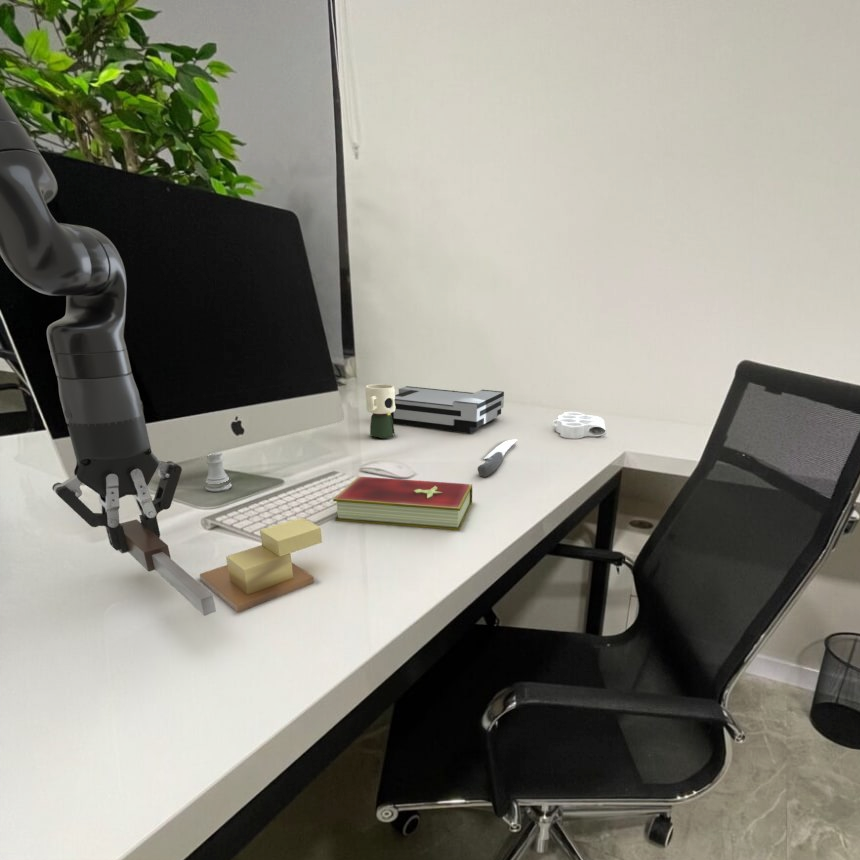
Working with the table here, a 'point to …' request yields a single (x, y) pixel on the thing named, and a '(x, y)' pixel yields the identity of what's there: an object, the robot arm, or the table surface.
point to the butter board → (256, 598)
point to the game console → (446, 408)
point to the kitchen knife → (494, 458)
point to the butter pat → (290, 536)
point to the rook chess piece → (216, 473)
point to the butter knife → (165, 565)
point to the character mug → (381, 409)
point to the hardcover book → (405, 503)
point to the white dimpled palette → (579, 425)
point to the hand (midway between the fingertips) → (137, 546)
